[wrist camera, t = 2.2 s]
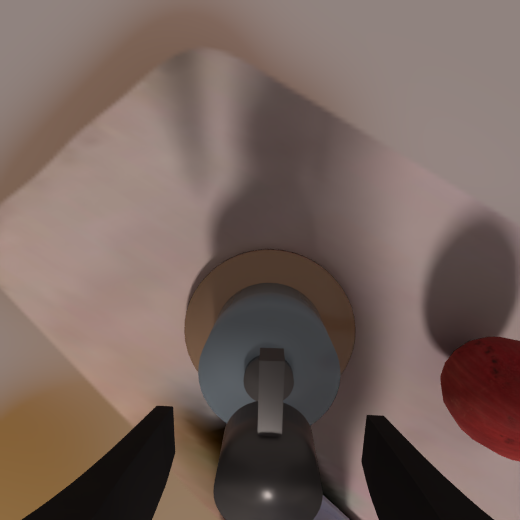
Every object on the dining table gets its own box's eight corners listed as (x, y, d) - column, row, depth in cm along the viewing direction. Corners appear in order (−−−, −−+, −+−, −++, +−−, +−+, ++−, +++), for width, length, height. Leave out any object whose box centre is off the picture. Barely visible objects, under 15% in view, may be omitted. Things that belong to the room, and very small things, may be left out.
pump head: (266, 465, 12) (265, 554, 9) (182, 389, 11) (151, 456, 8) (357, 396, 11) (389, 468, 8) (271, 311, 10) (272, 354, 7)
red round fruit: (430, 308, 18) (551, 390, 10) (518, 324, 18) (706, 418, 10) (405, 387, 19) (496, 514, 12) (488, 402, 19) (635, 539, 12)
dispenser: (265, 430, 20) (264, 512, 15) (153, 326, 19) (108, 375, 14) (387, 334, 19) (434, 389, 13) (272, 212, 17) (273, 217, 12)
